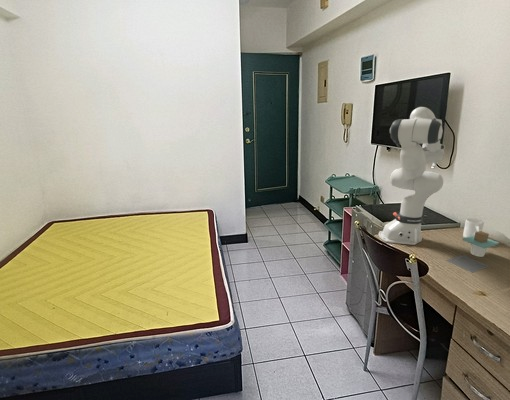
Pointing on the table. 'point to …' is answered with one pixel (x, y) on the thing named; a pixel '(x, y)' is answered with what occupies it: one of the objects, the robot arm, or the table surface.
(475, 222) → the mug
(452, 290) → the table surface
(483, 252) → the shot glass
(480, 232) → the lid
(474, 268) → the mat
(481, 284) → the table surface
